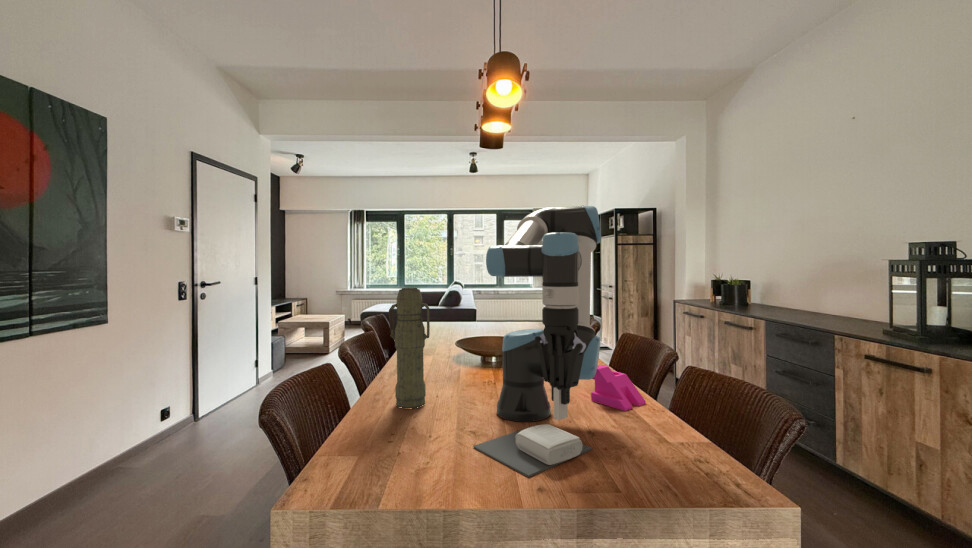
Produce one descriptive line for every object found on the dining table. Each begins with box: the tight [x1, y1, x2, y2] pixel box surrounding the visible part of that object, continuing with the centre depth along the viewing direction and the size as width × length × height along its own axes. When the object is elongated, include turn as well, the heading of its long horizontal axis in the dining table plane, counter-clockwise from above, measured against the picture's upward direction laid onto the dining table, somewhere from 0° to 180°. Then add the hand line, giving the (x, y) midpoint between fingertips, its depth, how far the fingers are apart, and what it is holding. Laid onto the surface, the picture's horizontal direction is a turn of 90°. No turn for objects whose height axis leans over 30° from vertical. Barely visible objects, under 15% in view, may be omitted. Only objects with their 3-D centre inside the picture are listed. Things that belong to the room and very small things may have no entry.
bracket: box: [590, 364, 647, 412], centre depth 131 cm, size 12×10×10 cm
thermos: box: [388, 287, 431, 409], centre depth 129 cm, size 9×12×35 cm
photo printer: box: [515, 424, 583, 465], centre depth 95 cm, size 10×4×12 cm
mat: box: [472, 424, 593, 478], centre depth 98 cm, size 18×20×1 cm
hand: (560, 417), depth 91 cm, fingers closed
